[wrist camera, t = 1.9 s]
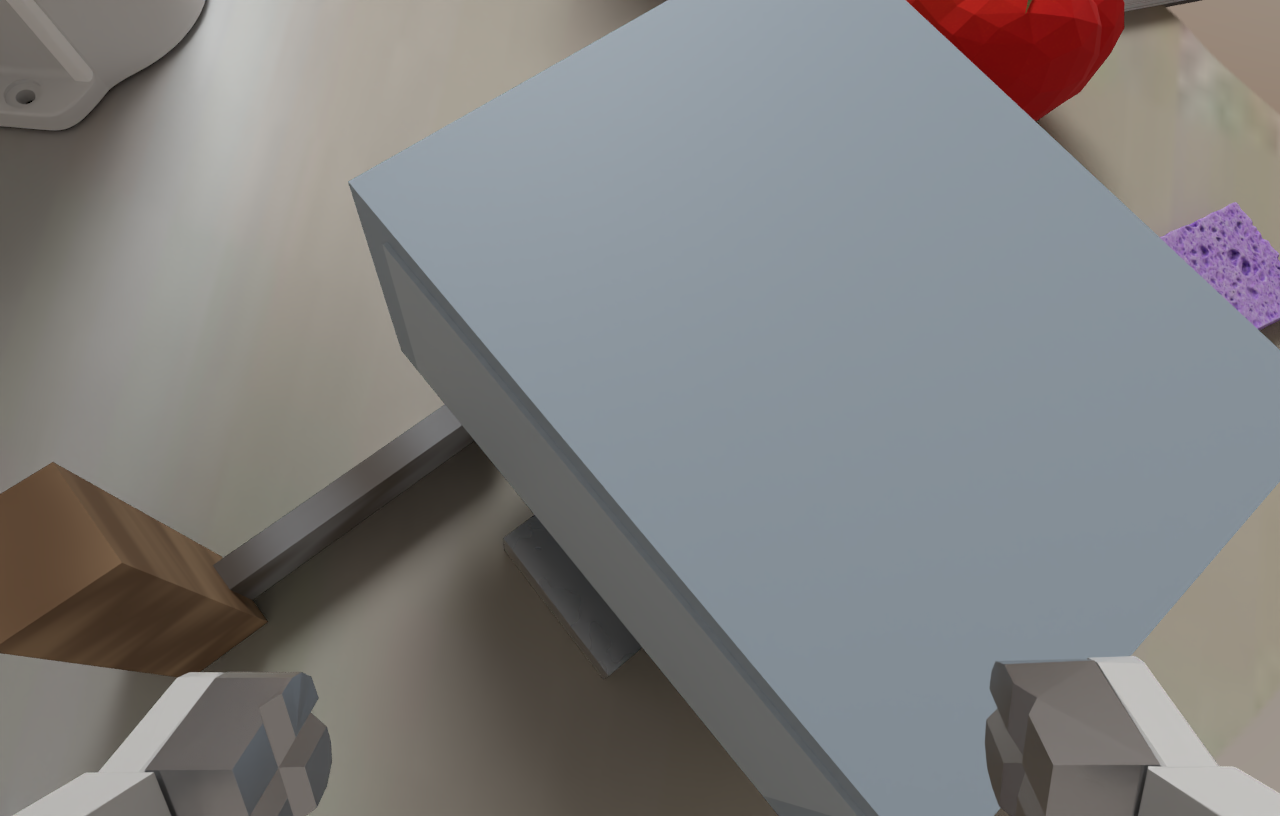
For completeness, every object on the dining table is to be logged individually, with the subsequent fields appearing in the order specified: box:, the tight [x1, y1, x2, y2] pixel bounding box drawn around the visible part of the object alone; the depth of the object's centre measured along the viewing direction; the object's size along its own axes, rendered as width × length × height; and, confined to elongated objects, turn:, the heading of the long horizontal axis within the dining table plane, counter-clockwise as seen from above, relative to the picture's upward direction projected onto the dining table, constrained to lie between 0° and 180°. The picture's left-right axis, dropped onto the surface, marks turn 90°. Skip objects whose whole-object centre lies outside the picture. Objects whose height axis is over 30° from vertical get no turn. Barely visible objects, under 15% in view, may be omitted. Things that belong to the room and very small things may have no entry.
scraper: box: [0, 405, 474, 677], centre depth 31 cm, size 16×4×14 cm, turn 131°
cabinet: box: [348, 0, 1280, 816], centre depth 32 cm, size 18×22×18 cm
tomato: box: [906, 0, 1125, 121], centre depth 46 cm, size 11×13×10 cm
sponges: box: [1160, 202, 1280, 330], centre depth 47 cm, size 7×13×2 cm, turn 117°
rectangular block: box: [503, 515, 642, 679], centre depth 37 cm, size 7×7×3 cm
